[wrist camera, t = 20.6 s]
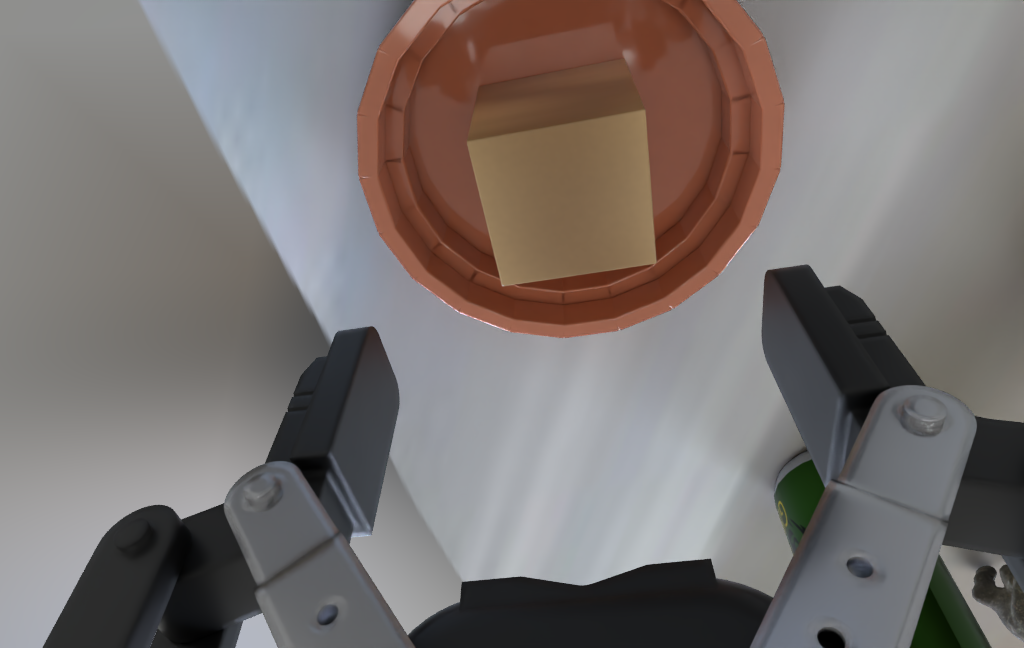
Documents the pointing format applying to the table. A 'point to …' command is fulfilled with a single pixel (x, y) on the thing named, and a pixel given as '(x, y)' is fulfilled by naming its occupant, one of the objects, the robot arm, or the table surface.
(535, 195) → the block
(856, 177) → the table surface
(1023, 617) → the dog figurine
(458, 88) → the plate
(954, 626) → the beer can
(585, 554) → the table surface
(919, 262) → the table surface
